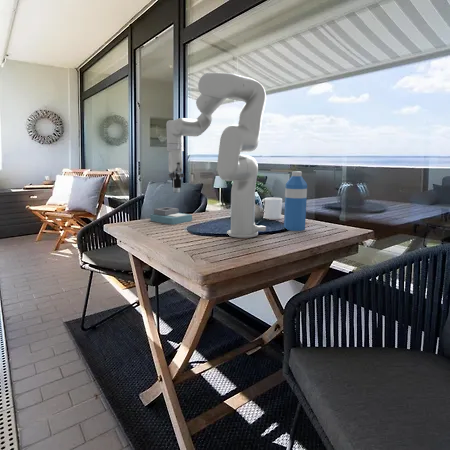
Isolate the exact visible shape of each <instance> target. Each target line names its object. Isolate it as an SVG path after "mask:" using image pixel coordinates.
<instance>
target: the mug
mask: <svg viewBox="0 0 450 450" xmlns="http://www.w3.org/2000/svg"><path fill="white" fill-rule="evenodd" d="M262 202H263V203H264V211H265V213H264V219H265V220H268V219H269V220H270V221H278V220H281V219H282V208H283V198H281V197H265V198H263V199H261V203H262ZM264 211H263V212H264Z"/></svg>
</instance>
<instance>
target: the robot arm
mask: <svg viewBox="0 0 450 450" xmlns="http://www.w3.org/2000/svg"><path fill="white" fill-rule="evenodd" d="M197 86H198V87H197V89H198V92H199V93H200V95H199V96H198V97H197V98H196V100H195V104H196V107H197V109H198V110H199V112H200V114H199V115H198V117H197V118H196V119H193V118H185V117H180V118H176V119H169V120H167V121H166V125H165V126H166V127H165V128H166V150H167V152H168V172H169V173H170V174H174V188H180V189H181V188H182V177H181V173H183V152H184V151H185V150H184V149H185V147H184V137H199V136H201V135H203V133H205V132H206V131H207V129H208V128H210V127H211V124H212V121H213V113H215V111H216V110H217V109H218V108H219V107H220V106H221V105H222V104H223V103H224V102H225V101H226V100H235V101H240V102H244V104H243V106H242V108H241V110H240V113H239V118H238V124H231V125H228V126H226V128H224V130H223V131H222V133H221V135H220V139H219V146H218V156H217V164H216V168H217V169H216V170H217V175H218V176H219V178H220V179H221V180H223V181H225V182H232V186H231V191H230V229H229V230H227V231H226V235H227V234H228V235H229V237H232V238H240V239H247V238H250V239H251V238H254V237H257V236H258V235H259V232H266V230H267V226H265V225H257V224H256V222H255V213H256V211H255V210H256V184H257V183H256V182H257V177H258V172H259V166H258V162H257V160H256V159H255V157H253V156H250V155H247V154H246V155H245V154H241V153H250V152H253V151H255V150H257V148H258V145H259V142H260V134H261V128H262V124H263V123H262V122H263V121H262V120H263V114H264V112H265V107H266V101H267V94H266V93H267V92H266V89H265V88H264V86H263V84H261V82H259V81H258V80H256V79H254V78H252V77H247V76H243V75H239V74H235V73H230V72H205V73H204V74H203V75H202V76H201V77H200V78H199V80H198V84H197ZM171 180H172V181H171V183H172V188H173V178H171ZM228 235H227V236H228Z"/></svg>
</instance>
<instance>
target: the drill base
mask: <svg viewBox="0 0 450 450" xmlns="http://www.w3.org/2000/svg"><path fill="white" fill-rule="evenodd" d="M179 211H180V210H179V208H176V207H168V206H165V207H158V208H154V209H153V214H150V215H149V220H150V221H151V222H156V223H162V224H166V225H171V226H172V225H178V224H183V223H188V222H192V221H193V214H190V213H184V212H183V213H182V212H179ZM177 213H180V214H186V215H187V216H181V217H171V216H168V215H171V214H177Z"/></svg>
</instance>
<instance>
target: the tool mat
mask: <svg viewBox="0 0 450 450" xmlns="http://www.w3.org/2000/svg"><path fill="white" fill-rule="evenodd" d="M180 213H181V212H179V213H177V214H171V215H168V216H171V217H181V216H187V215H186V214H187V213H184V214H180Z"/></svg>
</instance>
